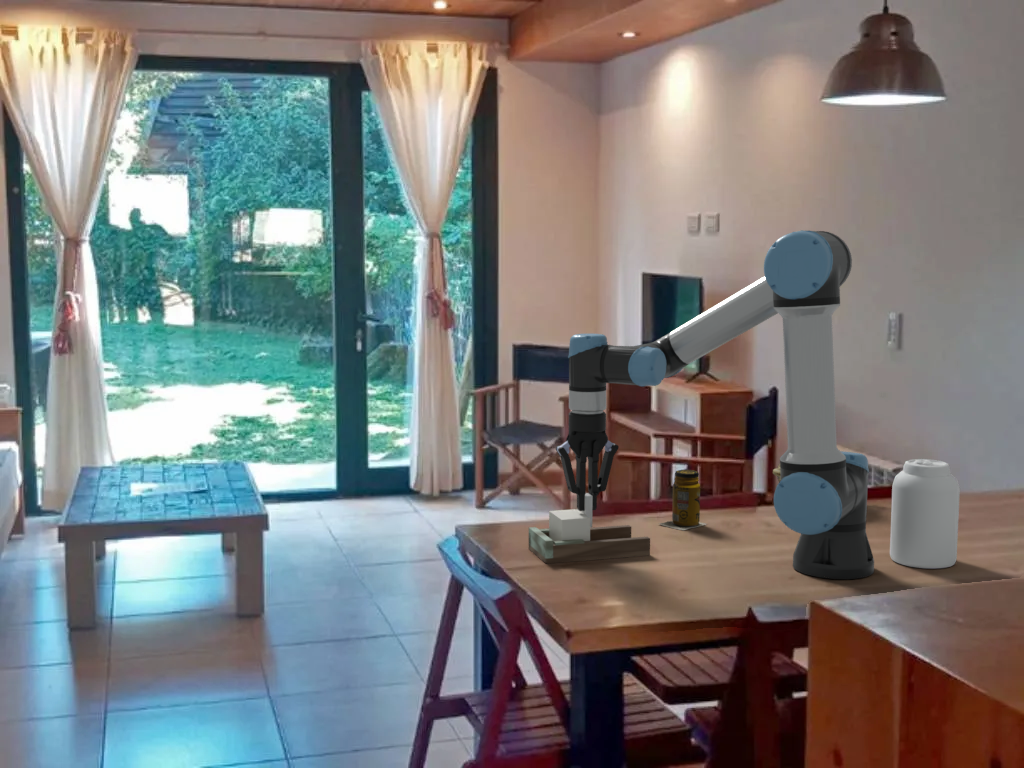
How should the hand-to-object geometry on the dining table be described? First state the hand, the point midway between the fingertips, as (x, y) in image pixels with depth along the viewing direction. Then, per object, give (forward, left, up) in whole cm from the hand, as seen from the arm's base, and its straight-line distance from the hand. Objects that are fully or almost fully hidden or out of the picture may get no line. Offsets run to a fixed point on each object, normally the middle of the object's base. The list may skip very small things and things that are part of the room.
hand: (586, 525), depth 242 cm
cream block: (0, +4, -4) cm, 6 cm away
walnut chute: (0, 0, -5) cm, 5 cm away
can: (-25, -61, -6) cm, 67 cm away
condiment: (+16, -28, -6) cm, 33 cm away
